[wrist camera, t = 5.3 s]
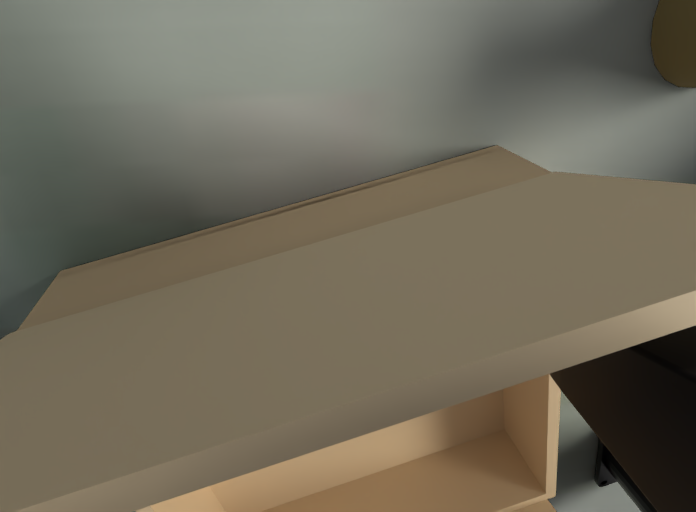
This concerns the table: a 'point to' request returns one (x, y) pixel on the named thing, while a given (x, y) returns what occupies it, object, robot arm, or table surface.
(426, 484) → the carton
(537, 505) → the flap
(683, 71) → the cork
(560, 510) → the table surface
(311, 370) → the flap
